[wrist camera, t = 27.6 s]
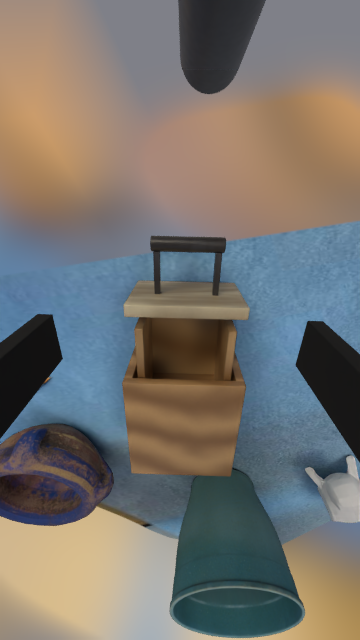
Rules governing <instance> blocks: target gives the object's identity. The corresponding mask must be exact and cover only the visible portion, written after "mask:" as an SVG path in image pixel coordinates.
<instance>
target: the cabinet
mask: <svg viewBox="0 0 360 640" xmlns="http://www.w3.org/2000/svg"><path fill="white" fill-rule="evenodd" d="M122 386H123V396H124V405H125V415H126V424H127V434H128V443H129V453H130V462H131V472H132V473H140V474H170V475H200V476H229V477H230V476H231V471H232V465H233V460H234V454H235V448H236V442H237V437H238V431H239V425H240V419H241V414H242V408H243V402H244V396H245V391H246V385H245V382H244V379H243V376H242V373H241V370H240V367H239V364H238V361H237V357H236V354H235V351H234V358H233V365H232V372H231V380H230V381H215V380H181V379H147V378H138V373H137V359H136V345H135V348H134V351H133V354H132V357H131V360H130V362H129V365H128V368H127V371H126V374H125V377H124V380H123V382H122Z"/></svg>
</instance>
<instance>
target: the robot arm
mask: <svg viewBox="0 0 360 640" xmlns="http://www.w3.org/2000/svg"><path fill="white" fill-rule="evenodd" d="M62 359H63V358H62V354H61V350H60V345H59V341H58V337H57V332H56V328H55V324H54V320H53V315H47V314H37V315H36V316H35V317H33V318H32V319H31V320H30V321H28V322H27V323H26V324H24V325H23V326H22V327H20V328H19V329H18V330H17V331H15V332H14V333H13V334H11V335H10V336H9V337H7V338H6V339H5V340H3V341H2V342H1V343H0V438H1V437H2V436H3V435H4V433H5V432H6V431H7V429H8V428H9V427H10V426H11V424H12V423H13V422H14V420H15V419H16V418H17V417H18V415H19V414H20V413H21V411H22V410H23V409H24V408H25V406H26V405H27V404H28V403H29V401H30V400H31V399H32V397H33V396H34V395H35V394H36V392H37V391H38V390H39V388H40V387H41V386H42V385H43V383H44V382H45V381H46V379H47V378H48V377H49V376H50V374H51V373H52V372H53V371H54V369H55V368H56V367H57V365H58V364H59V363H60V362H61V360H62ZM296 367H297V368H298V370H299V371H300V373H301V374H302V376H303V377H304V379H305V380H306V382H307V383H308V385H309V386H310V388H311V389H312V391H313V392H314V394H315V395H316V397H317V398H318V400H319V401H320V403H321V404H322V406H323V408H324V409H325V411H326V412H327V414H328V415H329V417H330V418H331V420H332V421H333V423H334V424H335V426H336V427H337V429H338V430H339V432H340V433H341V435H342V436H343V438H344V439H345V441H346V442H347V444H348V445H349V447H350V448H351V450H352V451H353V453H354V455H355V456H356V458H357V459H358V461H359V462H360V354H359V353H358V352H357V351H355V350H354V349H353V348H352V347H351V346H350V345H349V344H348V343H346V342H345V341H344V340H343V339H342V338H341V337H340V336H339V335H337V334H336V333H335V332H334V331H333V330H332V329H331V328H330V327H328V326H327V325H326V324H325V323H324V322H323V321H308V322H307V325H306V329H305V333H304V336H303V340H302V344H301V347H300V351H299V355H298V358H297V362H296Z"/></svg>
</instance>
